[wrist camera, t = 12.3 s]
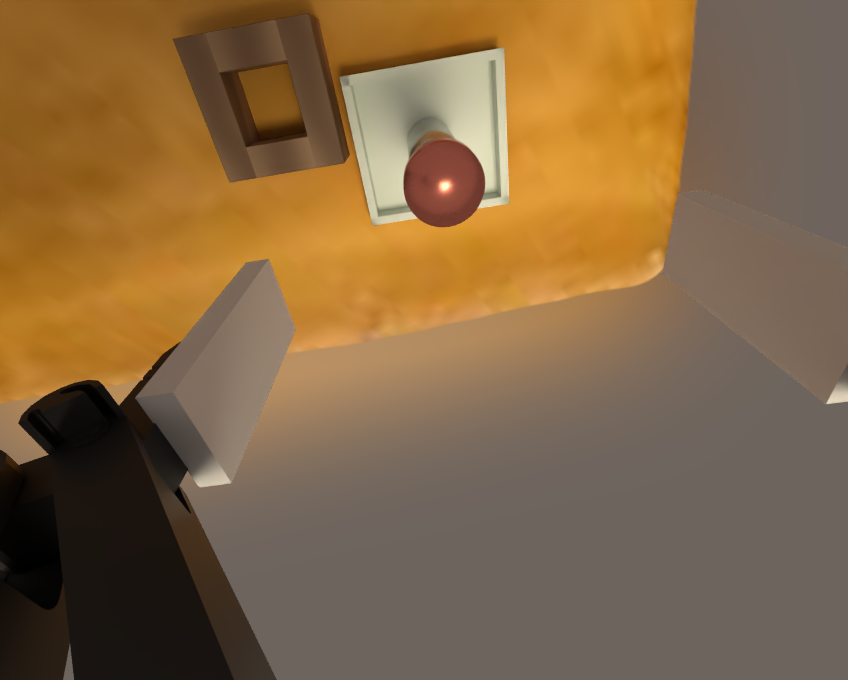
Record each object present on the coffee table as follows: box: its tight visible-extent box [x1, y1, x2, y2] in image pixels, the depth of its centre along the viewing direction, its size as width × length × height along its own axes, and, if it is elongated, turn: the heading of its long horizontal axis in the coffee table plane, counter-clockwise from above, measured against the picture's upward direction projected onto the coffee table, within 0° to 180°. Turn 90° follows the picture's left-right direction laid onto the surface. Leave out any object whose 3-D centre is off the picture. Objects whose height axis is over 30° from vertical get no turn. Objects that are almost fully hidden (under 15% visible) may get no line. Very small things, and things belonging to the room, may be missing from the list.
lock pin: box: [403, 117, 485, 227], centre depth 30 cm, size 5×5×16 cm
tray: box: [340, 47, 509, 226], centre depth 36 cm, size 13×12×3 cm
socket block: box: [173, 13, 350, 182], centre depth 34 cm, size 10×10×4 cm
